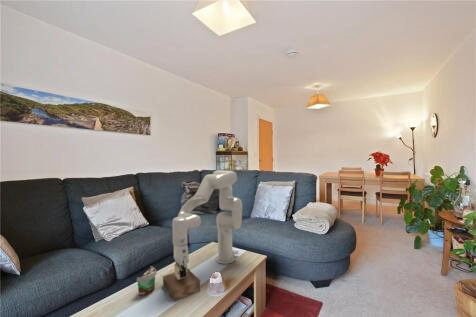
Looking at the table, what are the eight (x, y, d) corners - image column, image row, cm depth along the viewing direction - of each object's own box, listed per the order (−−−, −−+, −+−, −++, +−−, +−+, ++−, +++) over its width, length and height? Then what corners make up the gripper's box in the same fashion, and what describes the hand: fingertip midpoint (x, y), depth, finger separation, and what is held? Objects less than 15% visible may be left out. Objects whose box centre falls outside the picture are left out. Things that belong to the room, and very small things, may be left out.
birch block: (183, 272, 124) (183, 261, 124) (187, 276, 120) (187, 265, 120) (174, 275, 121) (174, 264, 121) (178, 279, 117) (177, 268, 117)
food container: (148, 299, 112) (147, 279, 112) (137, 297, 113) (136, 277, 113) (161, 284, 124) (160, 266, 124) (151, 283, 125) (150, 265, 125)
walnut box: (187, 276, 131) (187, 268, 131) (200, 290, 118) (200, 280, 118) (162, 285, 123) (162, 276, 123) (173, 301, 110) (173, 291, 109)
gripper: (193, 244, 115) (194, 279, 116) (180, 234, 129) (181, 266, 129) (179, 248, 111) (180, 284, 111) (167, 237, 124) (168, 270, 125)
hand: (181, 274), depth 120 cm, fingers closed on birch block, 5 cm apart
